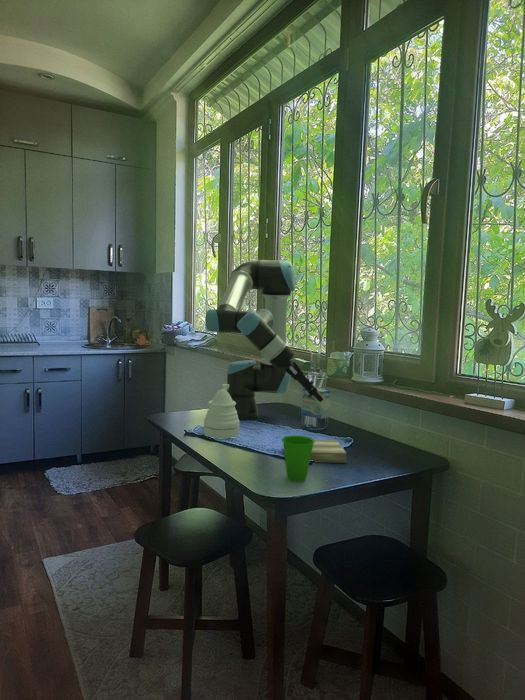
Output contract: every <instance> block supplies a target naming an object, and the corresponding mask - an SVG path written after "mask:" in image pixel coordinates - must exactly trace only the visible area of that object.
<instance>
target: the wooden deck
mask: <svg viewBox="0 0 525 700" xmlns="http://www.w3.org/2000/svg"><path fill="white" fill-rule="evenodd" d="M314 441H315V443H313V448H312V452H311V457H310V460H313V461H314V462H313V463H338V464H339V463H341V464H342V463H344V464H346V463H347V451H346V450H345V448H343V446H342V445H341V444H340V442H339V441H338V440H337V439H314ZM283 447H284V444H283V446H282V448H283Z"/></svg>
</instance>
